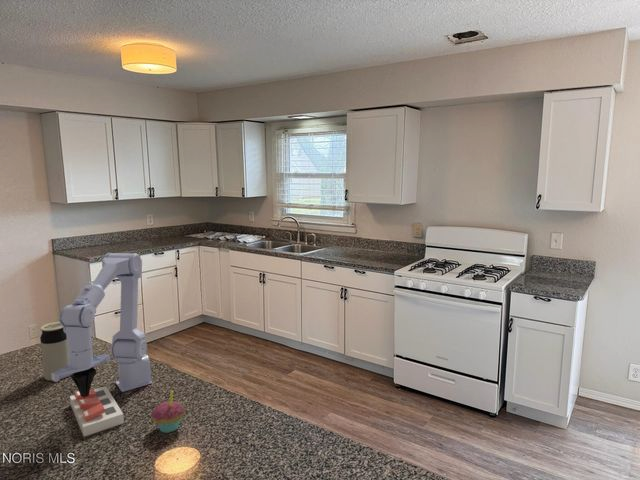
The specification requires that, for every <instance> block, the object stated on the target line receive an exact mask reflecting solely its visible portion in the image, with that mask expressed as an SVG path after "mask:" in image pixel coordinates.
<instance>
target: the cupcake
mask: <svg viewBox="0 0 640 480" xmlns="http://www.w3.org/2000/svg"><path fill="white" fill-rule="evenodd" d="M173 389H174V388H171V390H170V392H169V393H170V397H169V401H162V402H160V403H159V404H157V405H155V406H154V408H153V409H152V411H151V414H150V418H151V421H153V422H154V423H156V424H157V426H158V428H159V431H160V432H161V433H165V434H166V433H173V432H174V431H176V430H177V429H178V428H179V424H180V422H181V419H182V418H183V417H184V414H185V408H184V406H183V404H182V403H181V402H179V401H175V400H173V399H174V398H173V397H174V390H173Z"/></svg>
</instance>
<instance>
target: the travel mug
mask: <svg viewBox="0 0 640 480" xmlns="http://www.w3.org/2000/svg"><path fill="white" fill-rule="evenodd" d="M39 329H40V331H41V335H40V337H39V338H40V347H41V355H42V358H41V359H42V365H43V376H44V380H47V381H53V380H52V377H51V373H53V372H55V371H57V370H59V369H61V368H63V367H65V366H67V365H69V356H68V346H67V336H66V333H65V332H64V330H63V326H62V325H61V324H60V322H59V321H56V322H54V321H53V322H49V323H46V324H43V325H42V326H41V327H40V328H39ZM64 378H66V377H64ZM64 378H62V379H64ZM62 379H59V381H60V380H62Z"/></svg>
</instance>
